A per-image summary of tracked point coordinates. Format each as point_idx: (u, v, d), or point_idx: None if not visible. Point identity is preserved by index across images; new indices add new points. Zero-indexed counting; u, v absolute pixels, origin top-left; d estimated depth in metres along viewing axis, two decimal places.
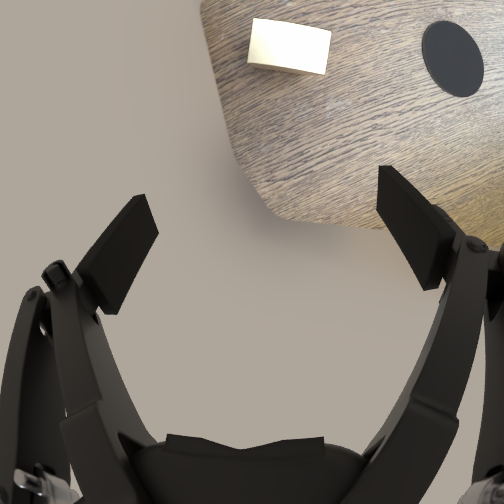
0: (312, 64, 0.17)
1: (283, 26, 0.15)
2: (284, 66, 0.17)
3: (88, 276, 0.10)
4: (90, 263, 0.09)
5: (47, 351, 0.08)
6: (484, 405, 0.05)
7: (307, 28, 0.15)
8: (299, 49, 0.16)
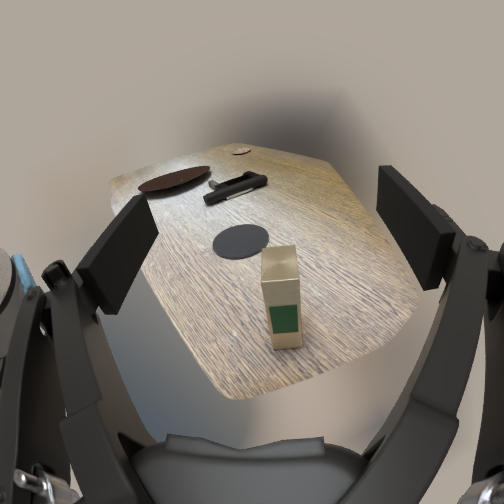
0: (289, 250, 0.32)
1: (265, 267, 0.30)
2: (296, 261, 0.30)
3: (88, 276, 0.10)
4: (90, 263, 0.09)
5: (47, 351, 0.08)
6: (484, 405, 0.05)
7: (263, 257, 0.32)
8: (281, 257, 0.31)
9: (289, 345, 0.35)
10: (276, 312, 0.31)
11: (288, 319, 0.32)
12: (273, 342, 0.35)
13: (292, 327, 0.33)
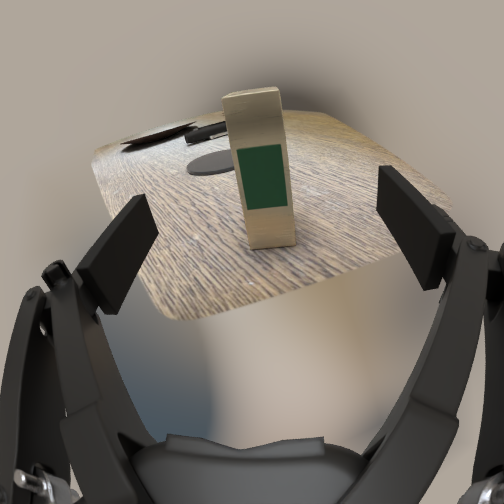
0: (268, 87, 0.20)
1: (231, 94, 0.18)
2: None
3: (88, 276, 0.10)
4: (90, 263, 0.09)
5: (47, 351, 0.08)
6: (484, 405, 0.05)
7: (231, 93, 0.20)
8: None
9: (275, 240, 0.23)
10: (248, 159, 0.19)
11: (269, 175, 0.20)
12: (249, 232, 0.23)
13: (277, 194, 0.21)
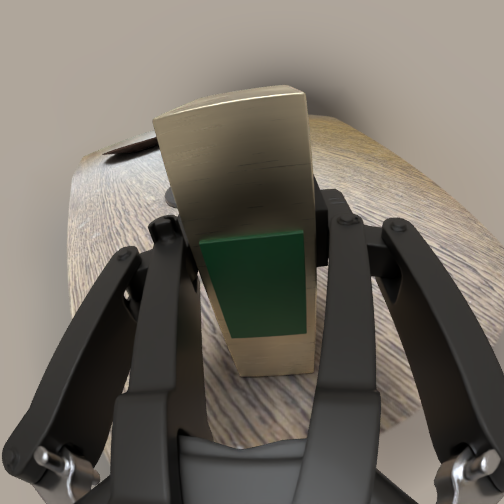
0: (272, 87, 0.10)
1: (189, 104, 0.08)
2: (291, 88, 0.08)
3: None
4: None
5: (124, 324, 0.08)
6: (418, 388, 0.06)
7: (196, 100, 0.09)
8: (244, 91, 0.09)
9: (281, 369, 0.13)
10: (228, 261, 0.09)
11: (273, 291, 0.09)
12: (237, 360, 0.13)
13: (288, 319, 0.10)
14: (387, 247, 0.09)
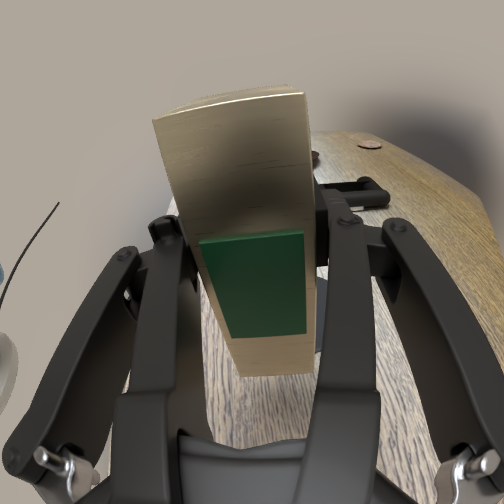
0: (272, 86, 0.10)
1: (189, 104, 0.08)
2: (291, 88, 0.08)
3: None
4: None
5: (124, 324, 0.08)
6: (418, 388, 0.06)
7: (196, 100, 0.09)
8: (244, 91, 0.09)
9: (281, 369, 0.13)
10: (228, 261, 0.09)
11: (273, 291, 0.09)
12: (237, 360, 0.13)
13: (288, 319, 0.10)
14: (387, 247, 0.09)
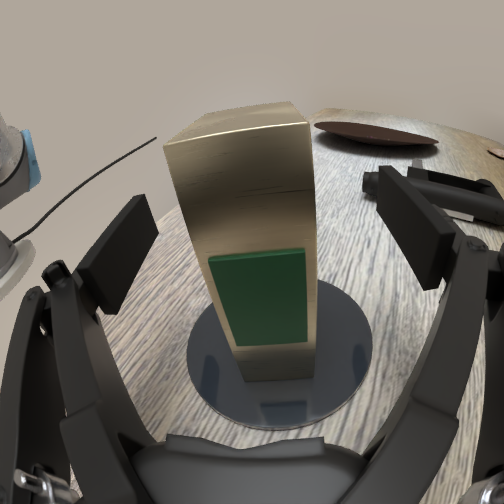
0: (276, 105, 0.10)
1: (196, 126, 0.09)
2: (295, 110, 0.09)
3: (88, 276, 0.10)
4: (90, 263, 0.09)
5: (47, 351, 0.08)
6: (484, 405, 0.05)
7: (202, 118, 0.10)
8: (249, 111, 0.10)
9: (283, 374, 0.14)
10: (235, 277, 0.09)
11: (277, 303, 0.10)
12: (241, 366, 0.13)
13: (290, 329, 0.11)
14: None
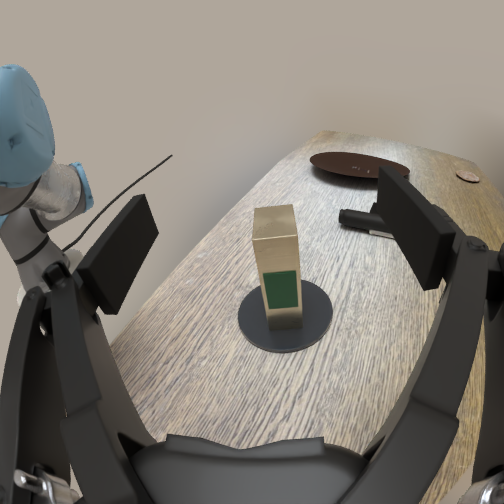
0: (286, 209, 0.28)
1: (258, 225, 0.26)
2: (294, 219, 0.26)
3: (88, 276, 0.10)
4: (90, 263, 0.09)
5: (47, 351, 0.08)
6: (484, 405, 0.05)
7: (256, 216, 0.27)
8: (276, 216, 0.27)
9: (288, 325, 0.31)
10: (271, 280, 0.27)
11: (286, 290, 0.27)
12: (269, 320, 0.31)
13: (291, 300, 0.28)
14: None
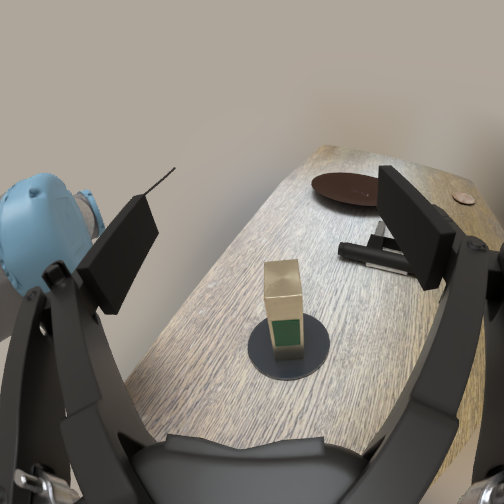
0: (292, 265, 0.32)
1: (268, 282, 0.30)
2: (299, 276, 0.30)
3: (88, 276, 0.10)
4: (90, 263, 0.09)
5: (47, 351, 0.08)
6: (484, 405, 0.05)
7: (266, 272, 0.32)
8: (283, 272, 0.31)
9: (291, 357, 0.35)
10: (279, 326, 0.31)
11: (290, 333, 0.32)
12: (275, 354, 0.35)
13: (294, 340, 0.32)
14: None
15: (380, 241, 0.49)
